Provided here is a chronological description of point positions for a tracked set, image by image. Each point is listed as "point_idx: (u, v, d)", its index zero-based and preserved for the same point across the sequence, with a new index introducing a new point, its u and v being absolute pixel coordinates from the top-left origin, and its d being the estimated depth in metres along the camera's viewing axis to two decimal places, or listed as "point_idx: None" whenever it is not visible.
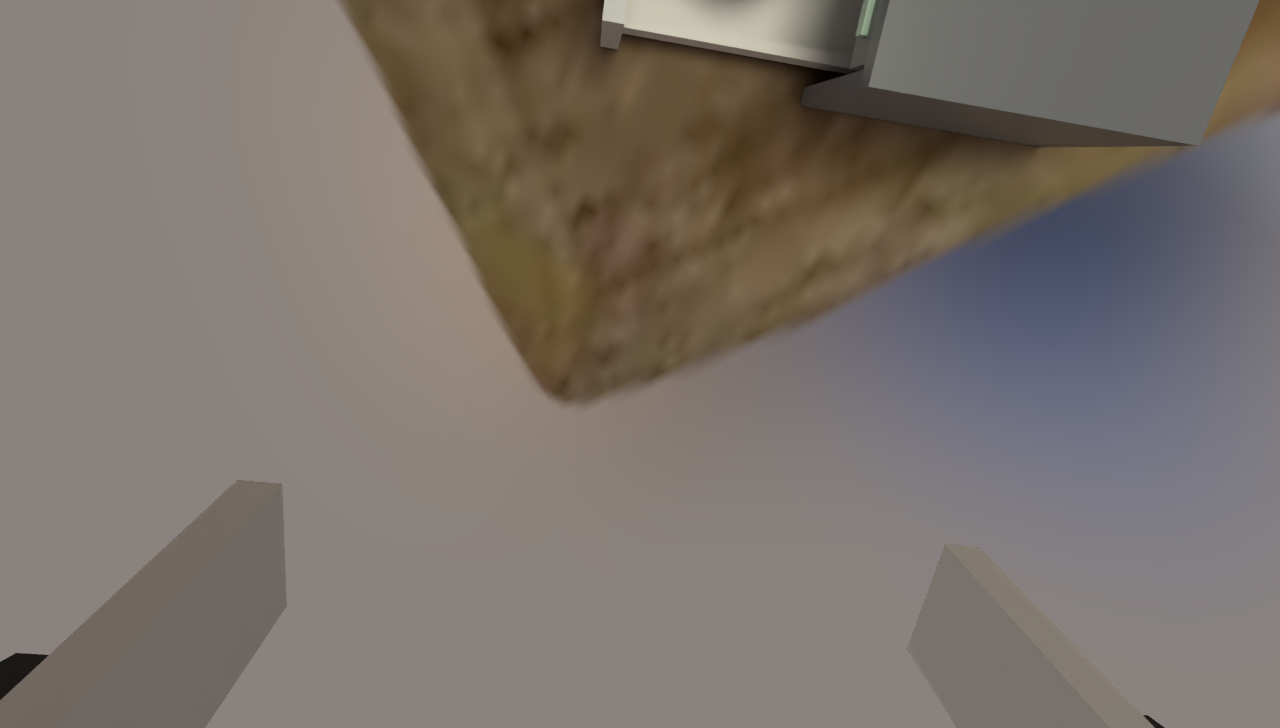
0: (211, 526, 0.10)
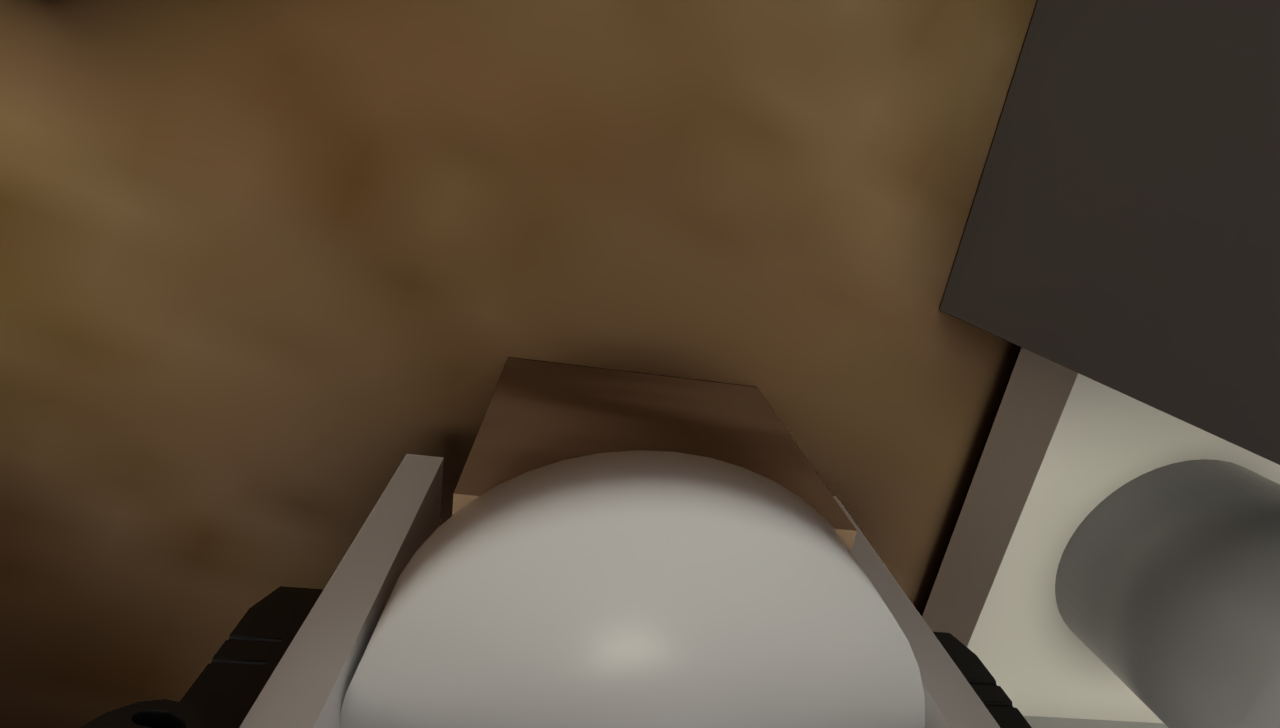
0: (403, 490, 0.11)
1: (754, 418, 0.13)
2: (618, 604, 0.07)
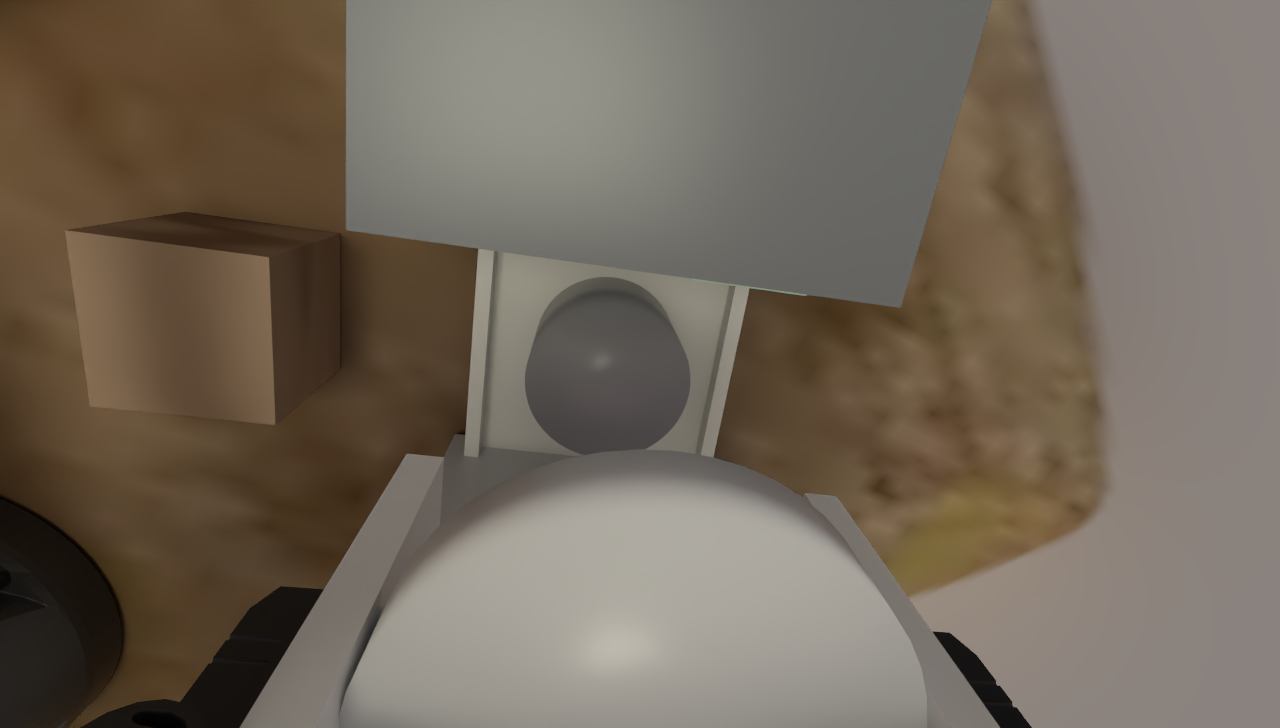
0: (404, 489, 0.11)
1: (304, 238, 0.23)
2: (619, 604, 0.07)
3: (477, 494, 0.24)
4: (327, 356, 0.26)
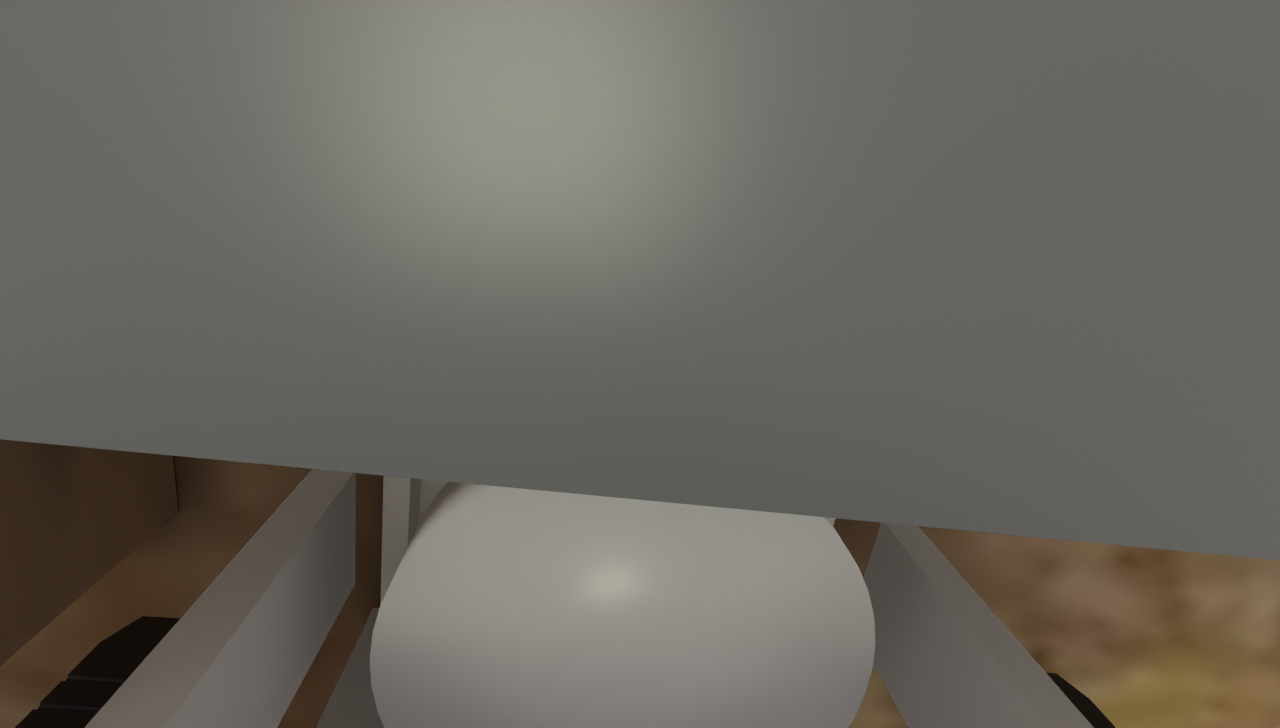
0: (301, 506, 0.10)
1: None
2: (610, 530, 0.09)
3: None
4: (137, 506, 0.15)
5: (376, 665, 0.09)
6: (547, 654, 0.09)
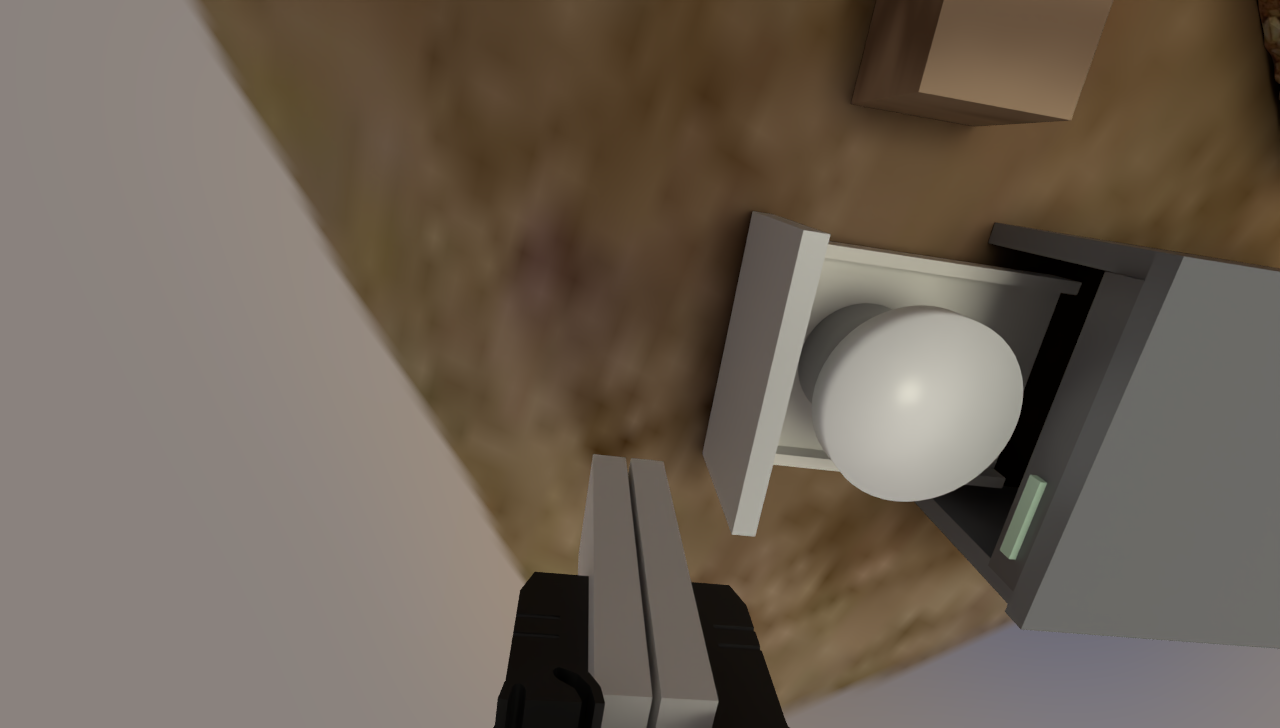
0: (609, 486, 0.13)
1: None
2: (992, 406, 0.24)
3: None
4: (887, 105, 0.26)
5: (955, 319, 0.23)
6: (943, 383, 0.24)
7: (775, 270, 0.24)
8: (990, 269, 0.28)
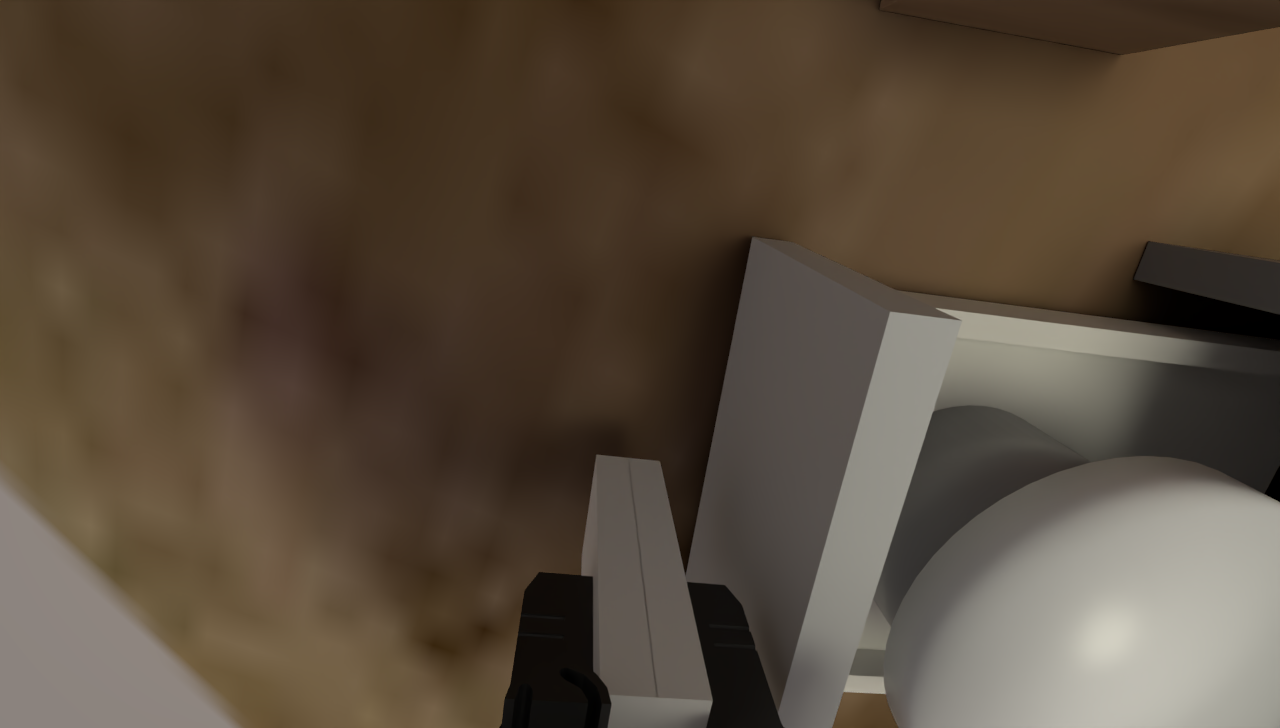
0: (612, 487, 0.13)
1: None
2: None
3: None
4: (958, 3, 0.12)
5: (1257, 513, 0.09)
6: (1204, 647, 0.10)
7: (806, 384, 0.10)
8: (1217, 344, 0.14)
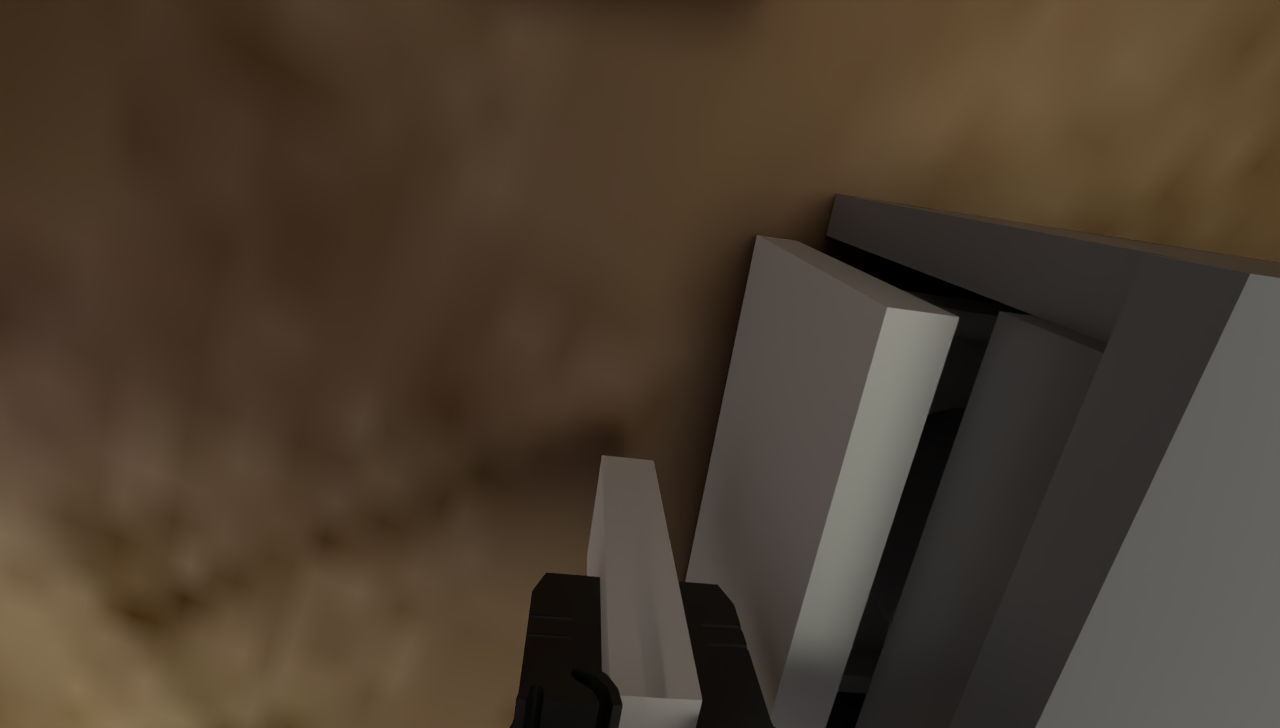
0: (618, 488, 0.13)
1: None
2: None
3: None
4: None
5: None
6: None
7: (805, 380, 0.10)
8: None
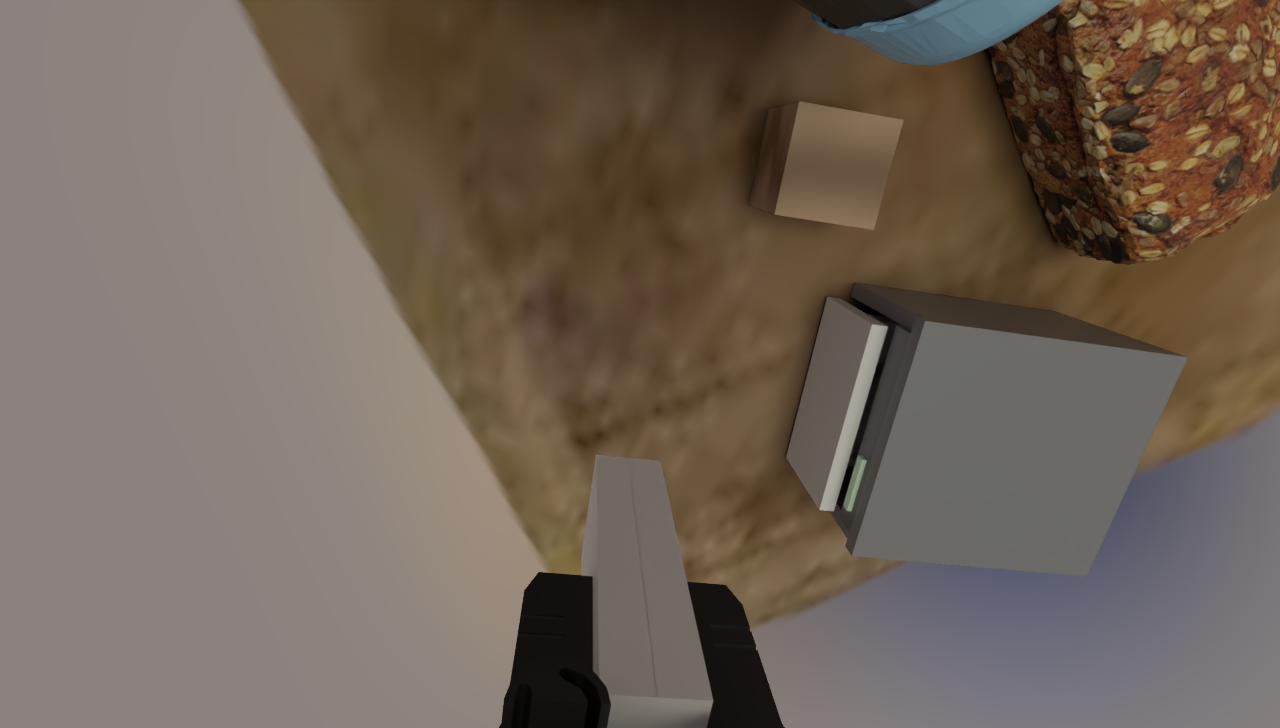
0: (612, 487, 0.13)
1: None
2: None
3: None
4: None
5: None
6: None
7: (849, 343, 0.38)
8: None
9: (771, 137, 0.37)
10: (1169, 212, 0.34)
